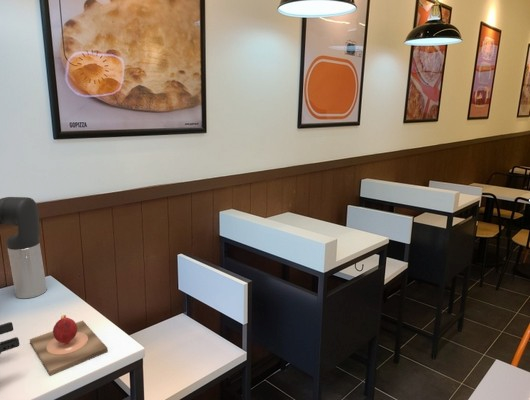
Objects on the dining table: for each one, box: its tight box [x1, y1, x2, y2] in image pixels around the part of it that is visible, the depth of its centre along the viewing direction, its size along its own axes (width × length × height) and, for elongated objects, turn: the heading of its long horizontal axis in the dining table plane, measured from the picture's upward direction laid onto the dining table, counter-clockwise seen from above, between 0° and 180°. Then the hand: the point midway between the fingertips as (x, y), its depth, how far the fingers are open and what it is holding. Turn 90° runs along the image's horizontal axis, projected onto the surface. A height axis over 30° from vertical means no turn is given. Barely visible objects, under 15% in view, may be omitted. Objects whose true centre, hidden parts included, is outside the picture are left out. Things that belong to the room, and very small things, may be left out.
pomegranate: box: [52, 314, 78, 343], centre depth 108 cm, size 6×6×8 cm
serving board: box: [29, 320, 109, 377], centre depth 110 cm, size 18×14×1 cm
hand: (15, 333), depth 101 cm, fingers open, 8 cm apart
